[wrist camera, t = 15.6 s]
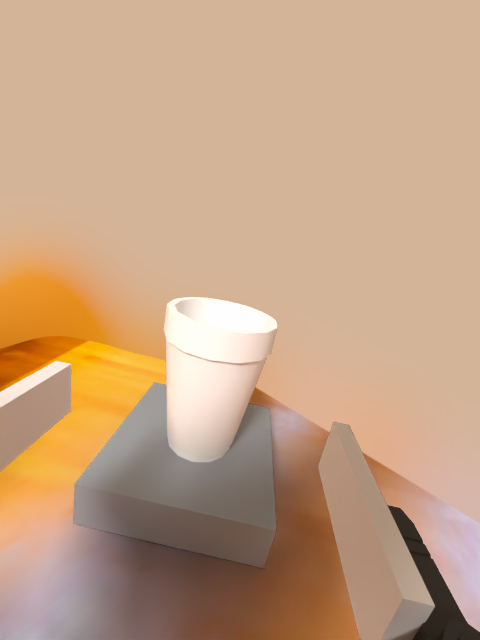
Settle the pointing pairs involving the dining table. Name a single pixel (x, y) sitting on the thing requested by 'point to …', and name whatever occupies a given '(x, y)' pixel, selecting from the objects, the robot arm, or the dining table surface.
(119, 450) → the slate plinth
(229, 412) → the foam cup
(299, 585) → the dining table surface
